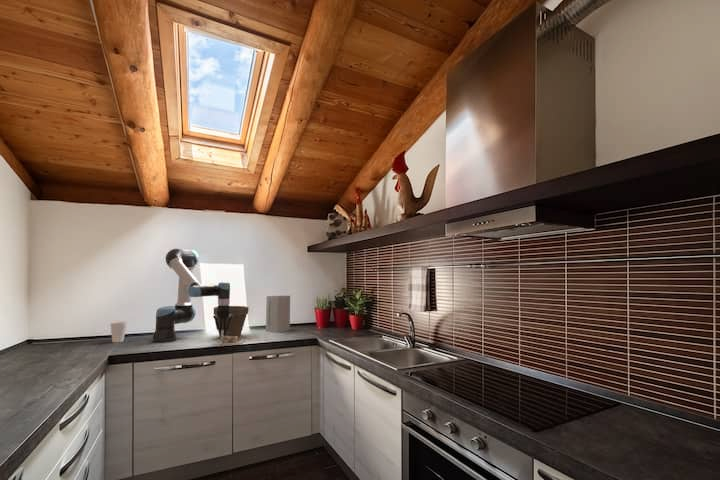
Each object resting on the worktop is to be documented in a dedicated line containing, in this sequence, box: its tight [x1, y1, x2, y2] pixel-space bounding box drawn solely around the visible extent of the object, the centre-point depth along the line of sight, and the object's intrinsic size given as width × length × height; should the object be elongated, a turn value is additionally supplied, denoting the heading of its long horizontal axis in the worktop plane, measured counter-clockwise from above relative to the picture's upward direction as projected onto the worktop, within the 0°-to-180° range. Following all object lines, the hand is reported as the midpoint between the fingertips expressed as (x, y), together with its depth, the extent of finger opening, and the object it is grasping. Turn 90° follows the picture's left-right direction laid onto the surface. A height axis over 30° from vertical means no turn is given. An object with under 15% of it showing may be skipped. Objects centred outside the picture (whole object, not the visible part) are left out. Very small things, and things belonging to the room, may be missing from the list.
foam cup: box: [110, 320, 128, 343], centre depth 254 cm, size 10×9×13 cm
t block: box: [221, 336, 239, 343], centre depth 248 cm, size 9×8×4 cm
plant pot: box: [213, 305, 249, 338], centre depth 274 cm, size 25×25×22 cm
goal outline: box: [219, 339, 246, 346], centre depth 248 cm, size 14×13×1 cm
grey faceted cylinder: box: [265, 295, 291, 334], centre depth 299 cm, size 19×15×28 cm
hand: (222, 340), depth 248 cm, fingers closed
